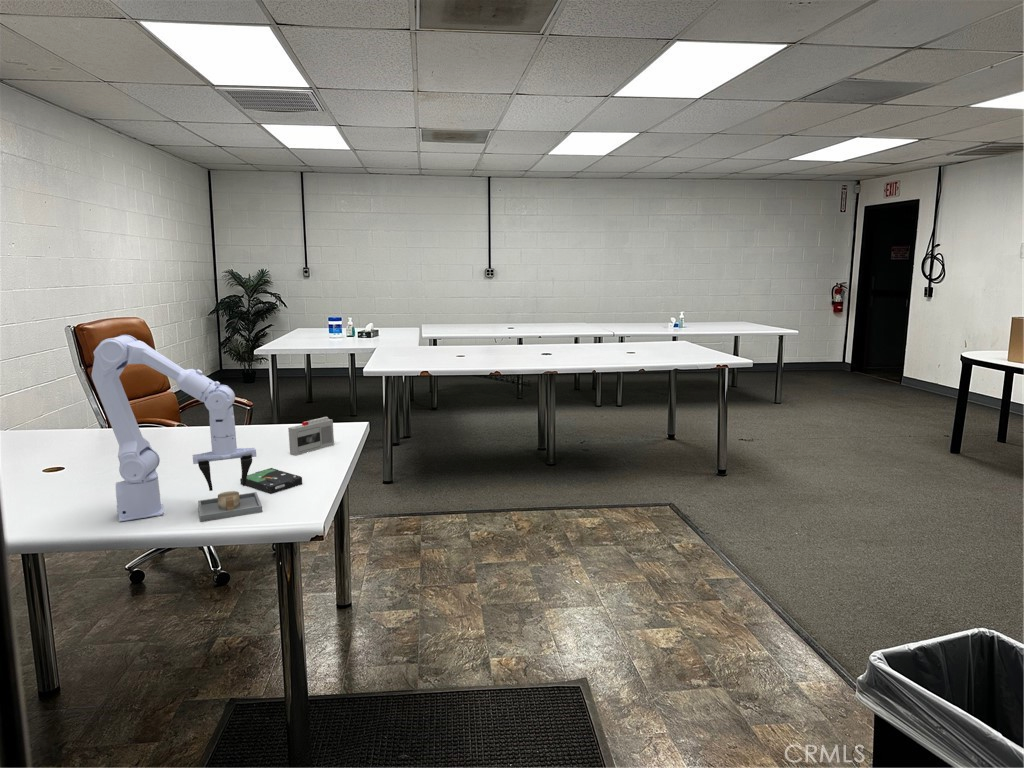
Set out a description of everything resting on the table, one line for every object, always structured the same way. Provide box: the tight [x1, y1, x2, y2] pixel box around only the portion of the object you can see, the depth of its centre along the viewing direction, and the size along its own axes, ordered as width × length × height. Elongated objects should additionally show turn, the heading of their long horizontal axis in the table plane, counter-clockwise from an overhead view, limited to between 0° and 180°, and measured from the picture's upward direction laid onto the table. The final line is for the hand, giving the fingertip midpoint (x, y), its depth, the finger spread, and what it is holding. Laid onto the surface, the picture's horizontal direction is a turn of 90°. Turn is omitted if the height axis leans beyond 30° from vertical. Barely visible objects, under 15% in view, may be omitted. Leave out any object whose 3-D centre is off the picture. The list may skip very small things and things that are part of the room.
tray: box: [197, 491, 263, 523], centre depth 169 cm, size 14×12×2 cm
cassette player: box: [288, 416, 335, 457], centre depth 222 cm, size 16×3×10 cm, turn 144°
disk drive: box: [239, 467, 303, 495], centre depth 188 cm, size 10×3×15 cm
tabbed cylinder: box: [217, 490, 240, 511], centre depth 169 cm, size 8×5×3 cm, turn 27°
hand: (227, 487), depth 169 cm, fingers open, 7 cm apart
